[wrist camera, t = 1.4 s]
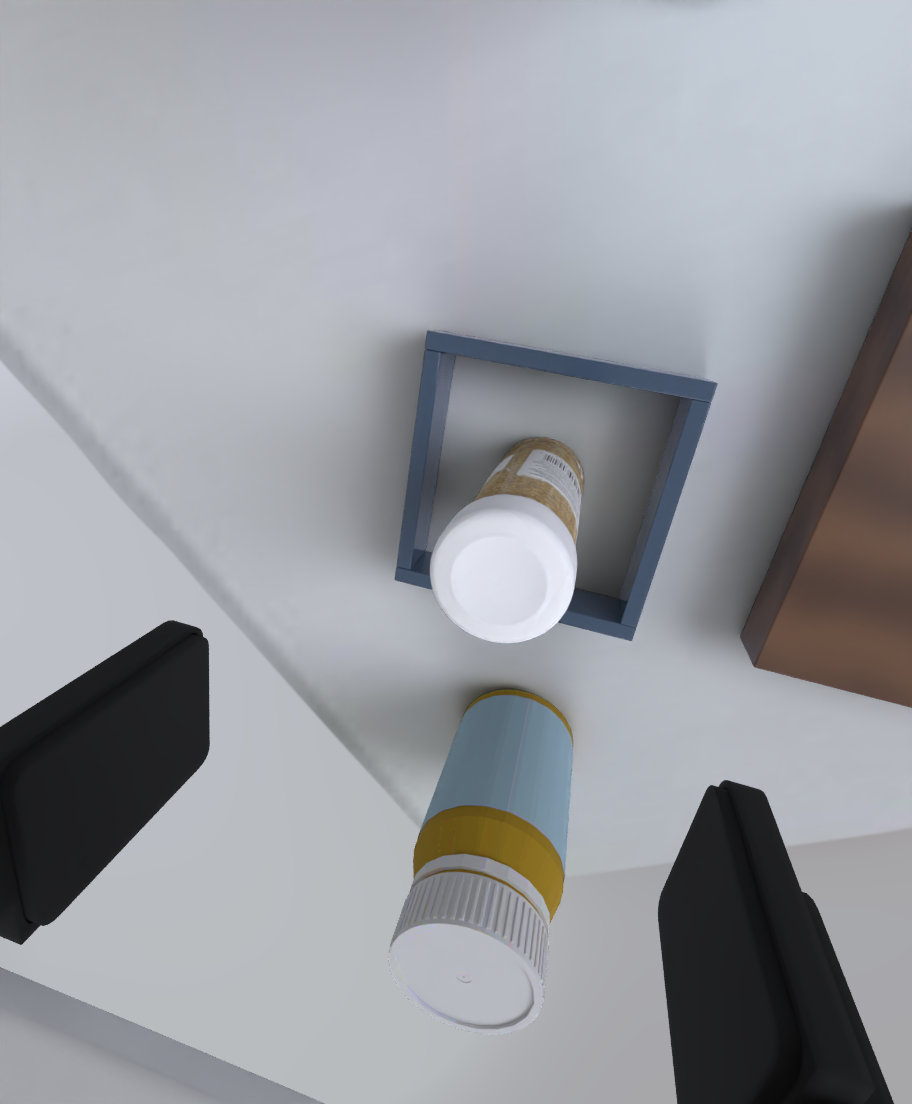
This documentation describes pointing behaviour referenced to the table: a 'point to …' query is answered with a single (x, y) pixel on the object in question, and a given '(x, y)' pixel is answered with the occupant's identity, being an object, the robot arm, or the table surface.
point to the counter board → (852, 531)
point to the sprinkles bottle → (513, 546)
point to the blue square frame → (444, 346)
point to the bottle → (489, 868)
